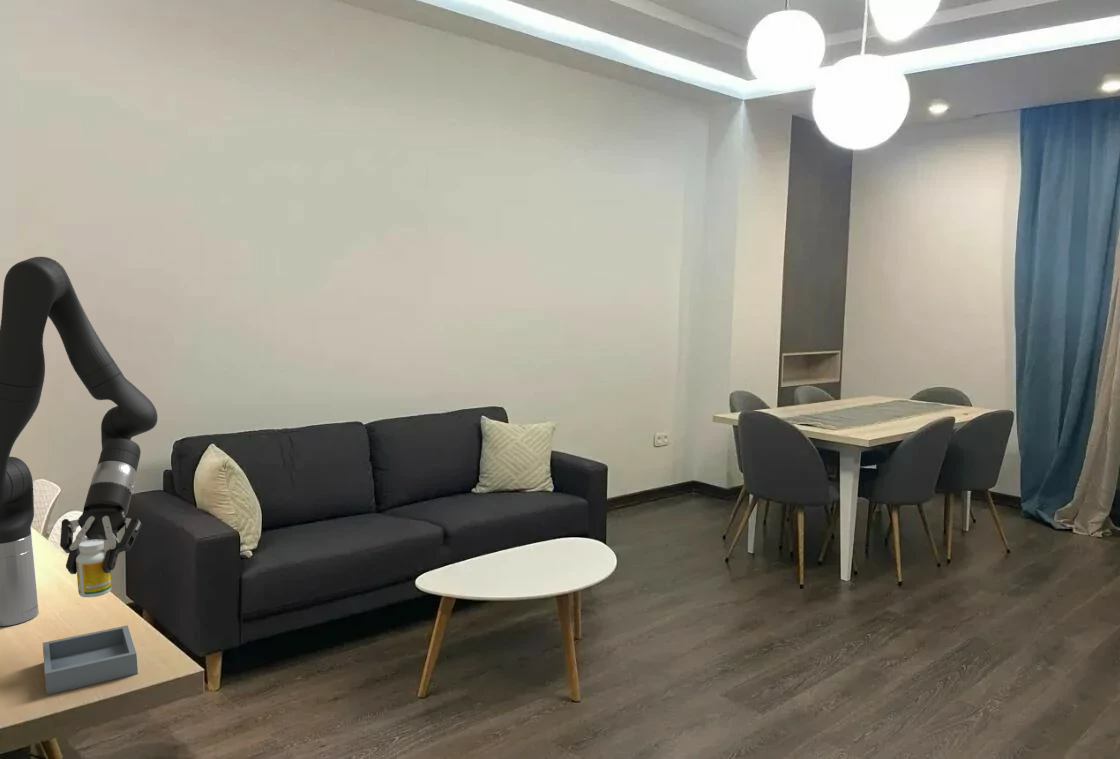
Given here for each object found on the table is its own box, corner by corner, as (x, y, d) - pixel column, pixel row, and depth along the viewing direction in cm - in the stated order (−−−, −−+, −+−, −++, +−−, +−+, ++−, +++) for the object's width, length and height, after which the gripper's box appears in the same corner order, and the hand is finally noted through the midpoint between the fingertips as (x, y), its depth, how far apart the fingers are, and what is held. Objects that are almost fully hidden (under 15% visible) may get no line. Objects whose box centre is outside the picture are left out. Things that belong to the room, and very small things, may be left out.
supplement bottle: (72, 595, 157) (67, 545, 156) (97, 585, 162) (93, 536, 161) (93, 600, 155) (89, 549, 154) (118, 589, 160) (114, 539, 159)
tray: (46, 694, 146) (44, 673, 145) (44, 662, 158) (42, 642, 157) (137, 673, 153) (136, 653, 153) (129, 644, 165) (127, 625, 164)
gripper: (64, 481, 162) (38, 564, 152) (143, 479, 164) (123, 561, 154) (79, 500, 168) (55, 581, 158) (155, 498, 170) (136, 579, 160)
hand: (89, 571), depth 156 cm, fingers closed on supplement bottle, 5 cm apart
